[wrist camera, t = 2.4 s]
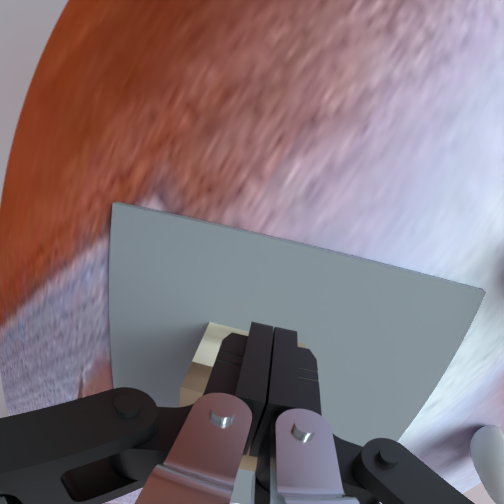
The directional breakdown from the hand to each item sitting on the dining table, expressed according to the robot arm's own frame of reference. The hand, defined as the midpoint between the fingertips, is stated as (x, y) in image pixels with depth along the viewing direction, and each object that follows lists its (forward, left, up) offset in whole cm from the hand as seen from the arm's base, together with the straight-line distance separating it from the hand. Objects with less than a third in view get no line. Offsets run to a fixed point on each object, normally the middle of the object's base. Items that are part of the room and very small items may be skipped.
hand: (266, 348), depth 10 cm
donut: (+13, +25, -9) cm, 29 cm away
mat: (+14, +2, -8) cm, 16 cm away
